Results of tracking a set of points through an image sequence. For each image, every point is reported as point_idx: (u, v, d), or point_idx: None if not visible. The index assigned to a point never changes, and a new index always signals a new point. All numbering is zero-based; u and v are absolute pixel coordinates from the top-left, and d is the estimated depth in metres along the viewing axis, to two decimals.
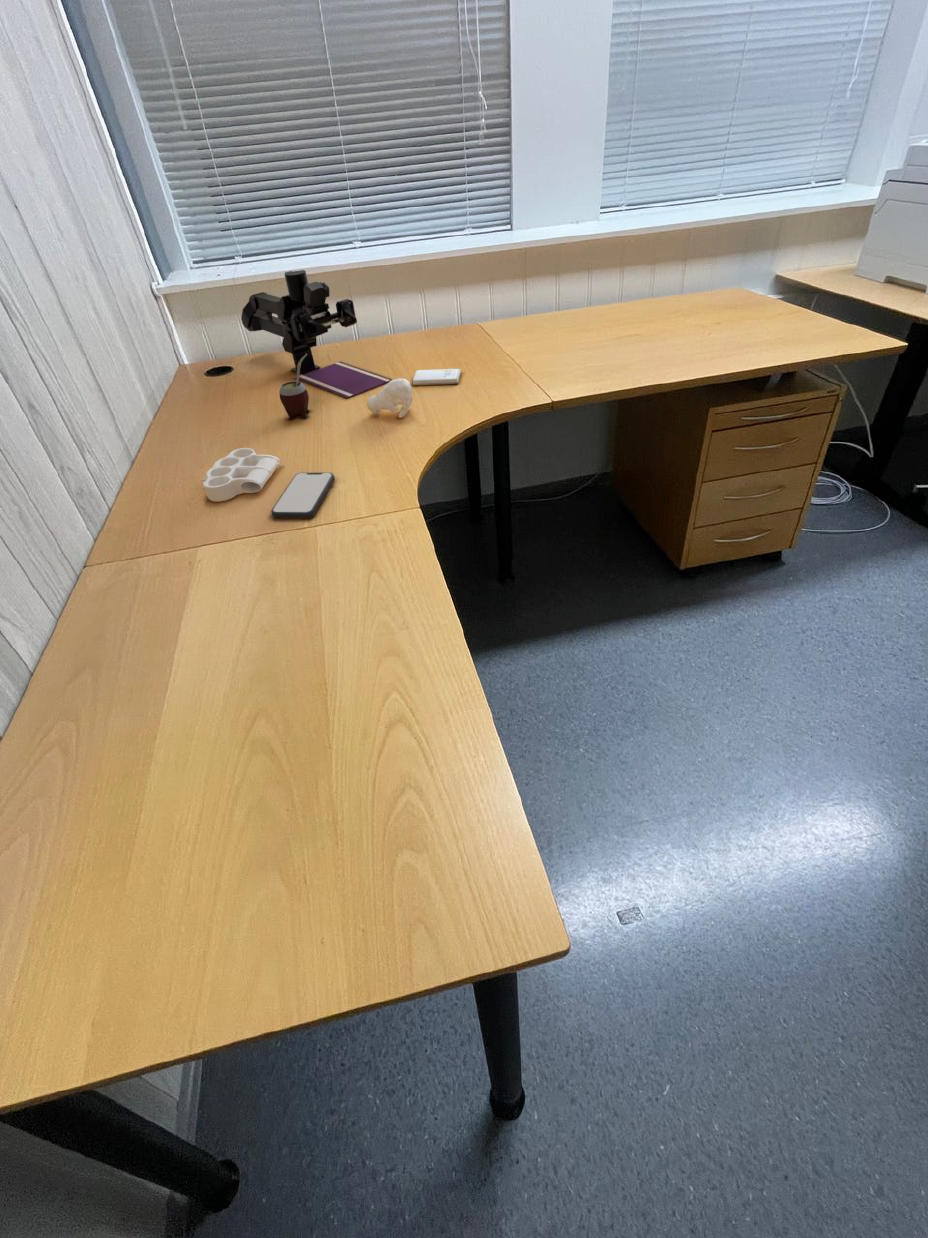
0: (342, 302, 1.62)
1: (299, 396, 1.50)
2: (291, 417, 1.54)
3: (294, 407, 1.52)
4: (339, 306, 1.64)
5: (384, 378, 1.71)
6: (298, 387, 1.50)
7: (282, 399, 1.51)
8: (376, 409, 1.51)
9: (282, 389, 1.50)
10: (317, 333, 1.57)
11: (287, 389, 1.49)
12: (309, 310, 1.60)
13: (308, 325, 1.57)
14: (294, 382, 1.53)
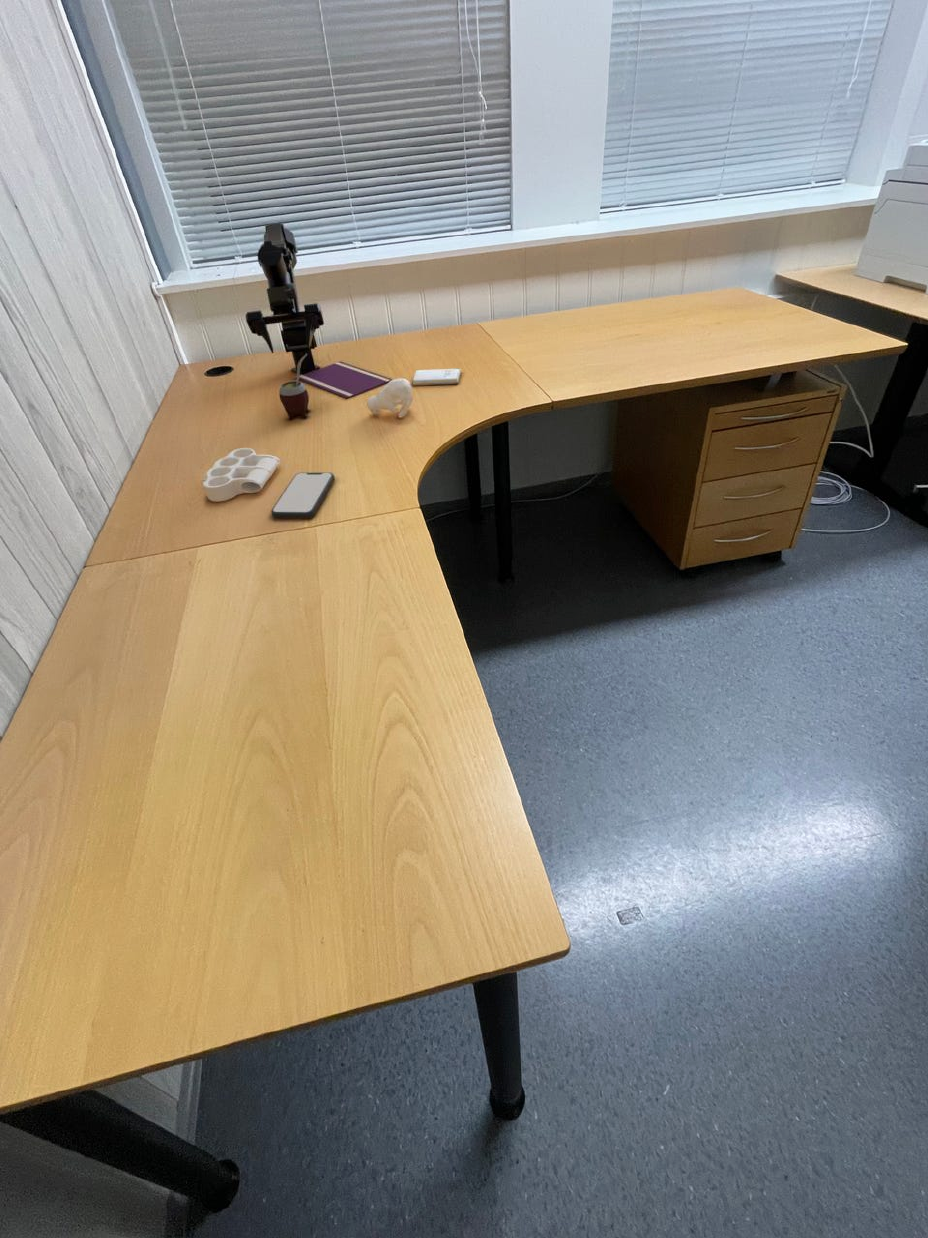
0: (307, 312, 1.51)
1: (299, 396, 1.50)
2: (291, 417, 1.54)
3: (294, 407, 1.52)
4: None
5: (384, 378, 1.71)
6: (298, 387, 1.50)
7: (282, 399, 1.51)
8: (376, 409, 1.51)
9: (282, 389, 1.50)
10: None
11: (287, 389, 1.49)
12: (270, 307, 1.51)
13: None
14: (294, 382, 1.53)
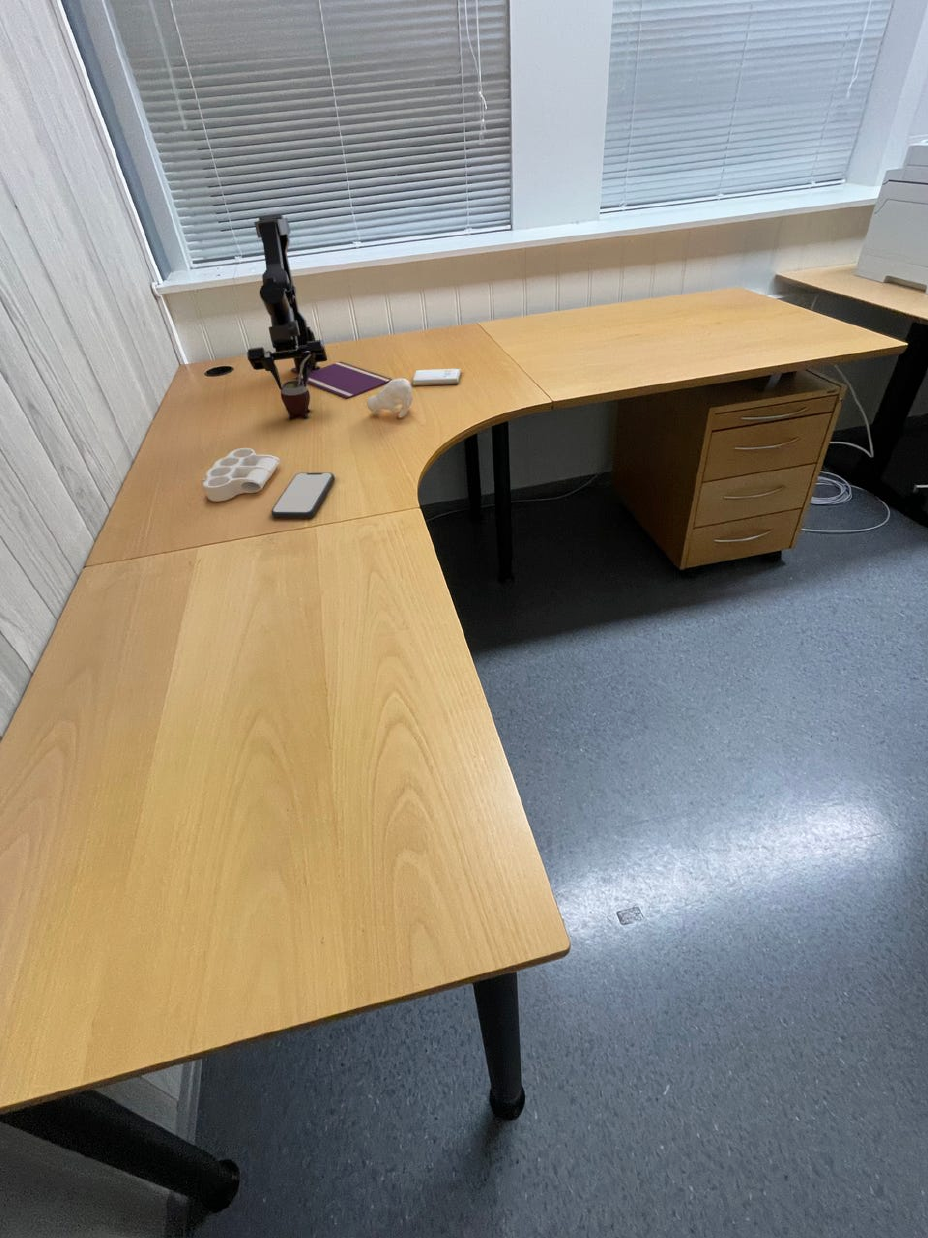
0: (310, 349, 1.48)
1: (301, 396, 1.50)
2: (291, 416, 1.54)
3: (295, 407, 1.52)
4: None
5: (384, 378, 1.71)
6: (300, 387, 1.50)
7: (283, 398, 1.51)
8: (376, 409, 1.51)
9: (284, 388, 1.50)
10: None
11: (289, 389, 1.49)
12: None
13: None
14: (296, 381, 1.53)
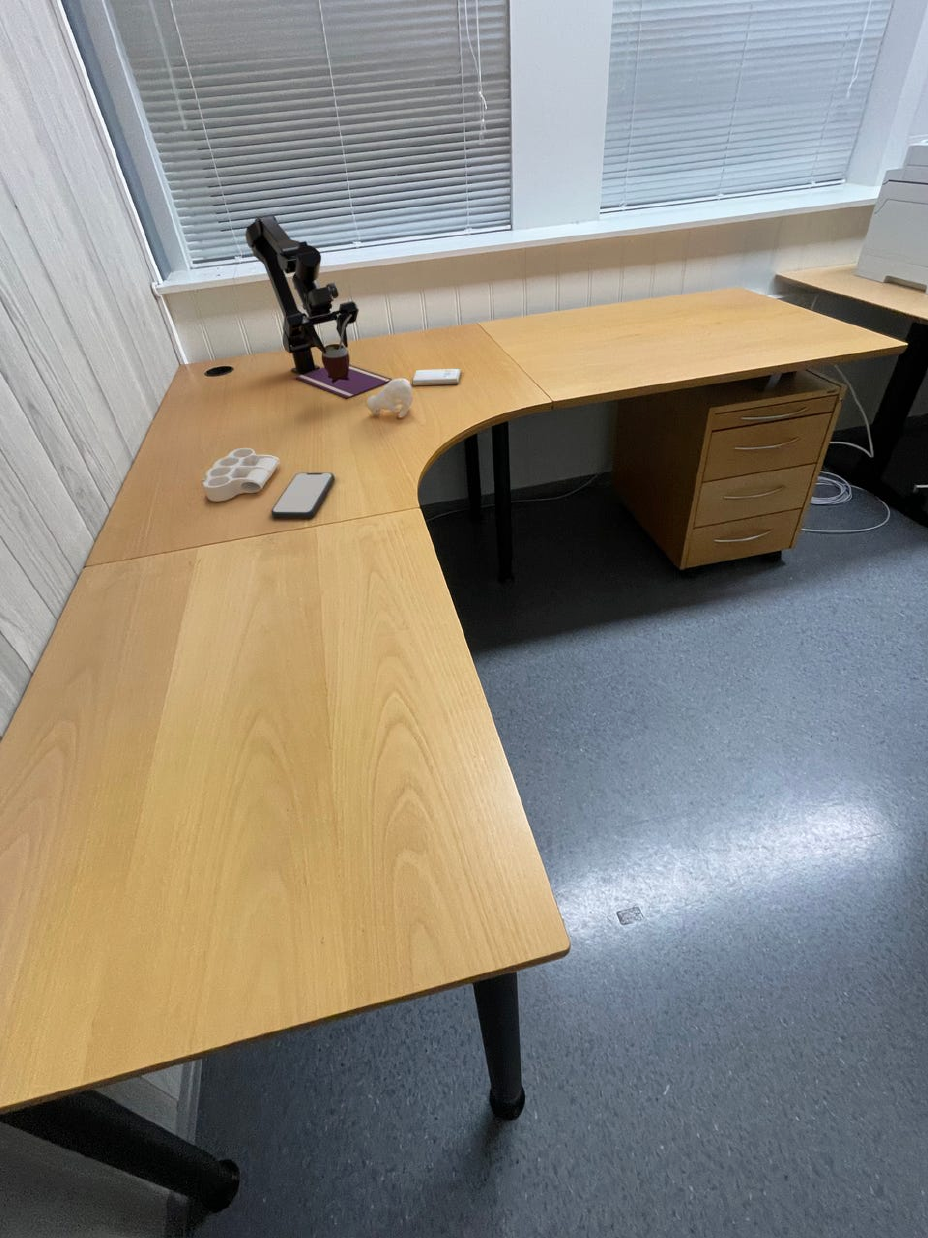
0: (347, 310, 1.52)
1: (346, 357, 1.54)
2: (334, 380, 1.57)
3: (341, 369, 1.55)
4: (343, 308, 1.53)
5: (384, 378, 1.71)
6: (343, 348, 1.54)
7: (328, 361, 1.53)
8: (376, 409, 1.51)
9: (328, 351, 1.52)
10: (314, 344, 1.53)
11: (334, 351, 1.52)
12: (309, 309, 1.50)
13: None
14: (333, 345, 1.56)
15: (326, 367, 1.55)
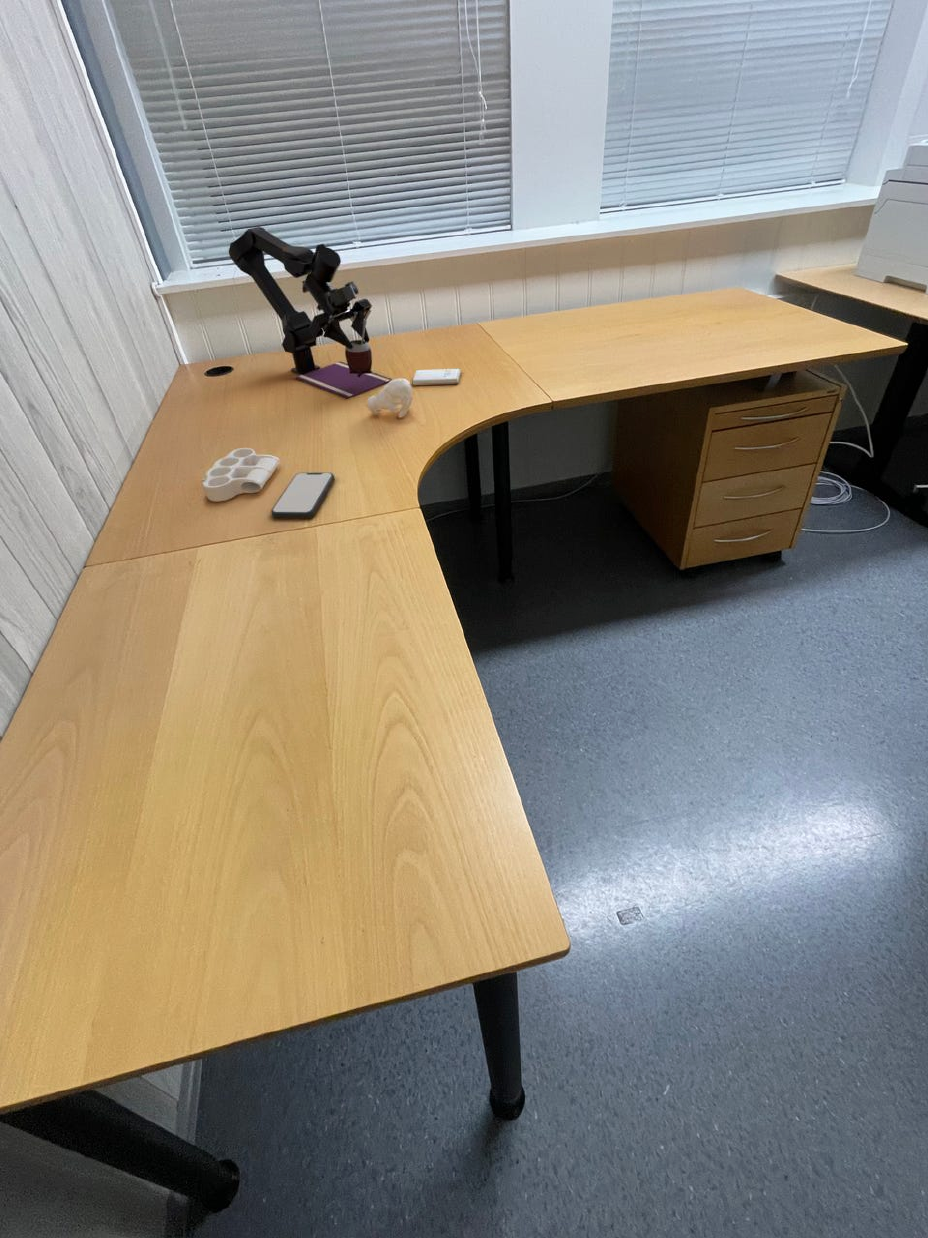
0: (363, 307, 1.61)
1: (370, 351, 1.63)
2: (360, 374, 1.65)
3: (367, 363, 1.63)
4: (358, 305, 1.62)
5: (384, 378, 1.71)
6: (367, 343, 1.62)
7: (356, 356, 1.61)
8: (376, 409, 1.51)
9: (355, 346, 1.60)
10: (339, 341, 1.60)
11: (361, 345, 1.60)
12: (332, 308, 1.56)
13: (333, 328, 1.58)
14: (353, 341, 1.63)
15: (352, 362, 1.62)
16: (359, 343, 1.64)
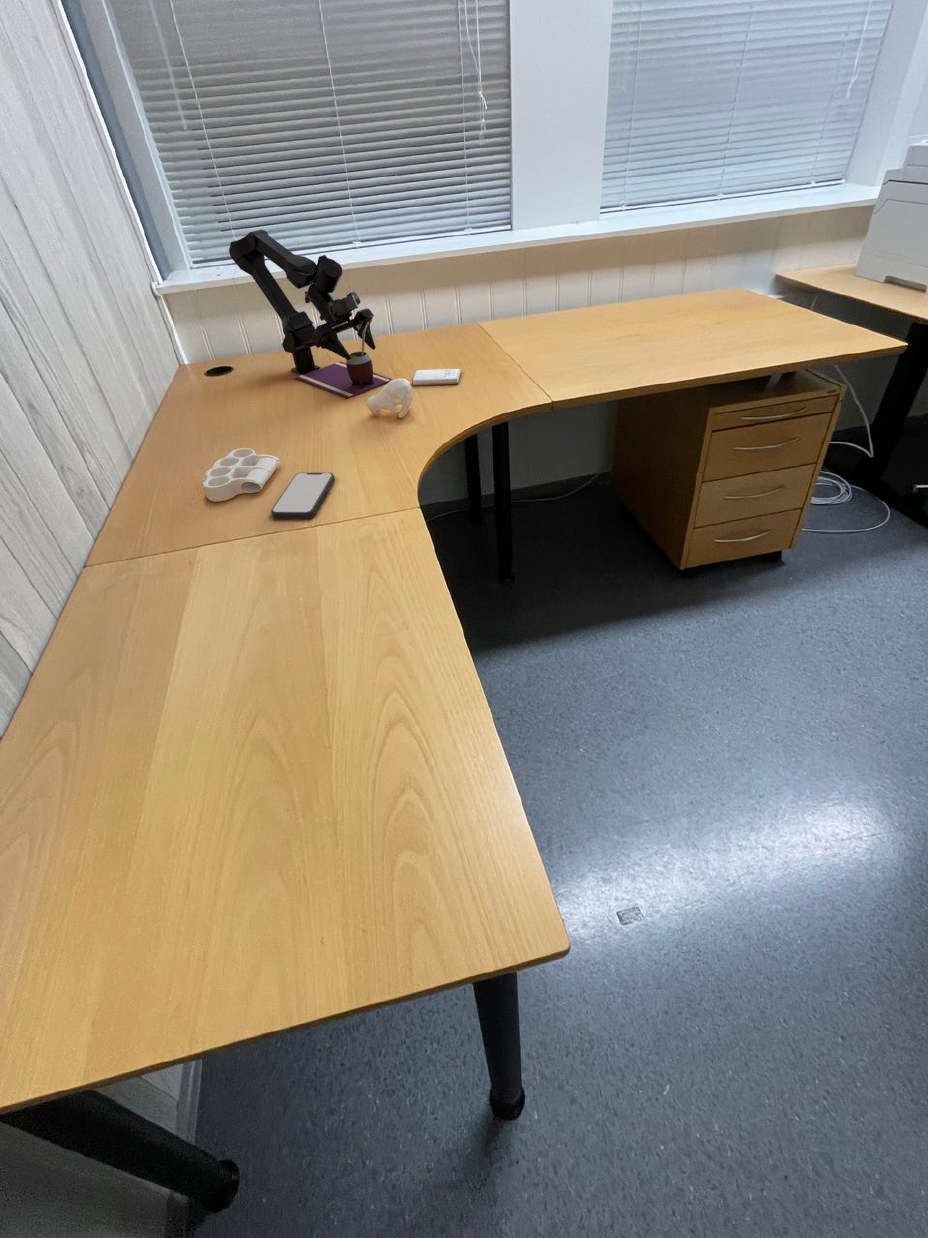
0: (365, 317, 1.63)
1: (370, 362, 1.64)
2: (362, 385, 1.67)
3: (368, 374, 1.65)
4: (360, 315, 1.63)
5: (384, 378, 1.71)
6: (367, 354, 1.64)
7: (357, 368, 1.63)
8: (376, 409, 1.51)
9: (356, 359, 1.62)
10: (337, 352, 1.60)
11: (361, 357, 1.62)
12: (334, 318, 1.58)
13: (331, 339, 1.58)
14: (353, 353, 1.65)
15: (354, 374, 1.64)
16: (359, 355, 1.66)
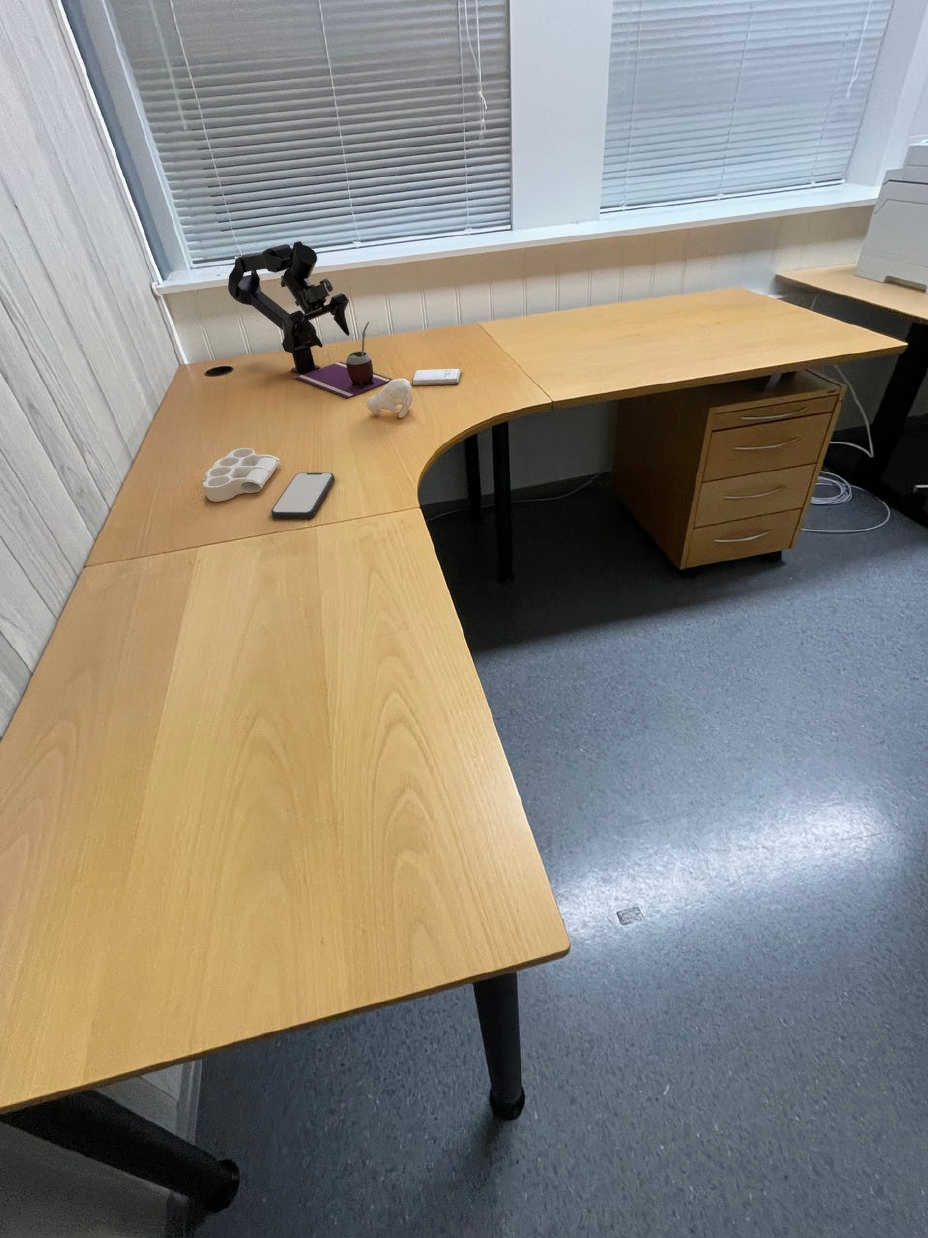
0: (340, 302, 1.65)
1: (370, 362, 1.64)
2: (362, 385, 1.67)
3: (368, 374, 1.65)
4: (335, 300, 1.66)
5: (384, 378, 1.71)
6: (367, 354, 1.64)
7: (357, 368, 1.63)
8: (376, 409, 1.51)
9: (356, 359, 1.62)
10: (310, 339, 1.64)
11: (361, 357, 1.62)
12: (307, 306, 1.61)
13: (303, 327, 1.62)
14: (353, 353, 1.65)
15: (354, 374, 1.64)
16: (359, 355, 1.66)
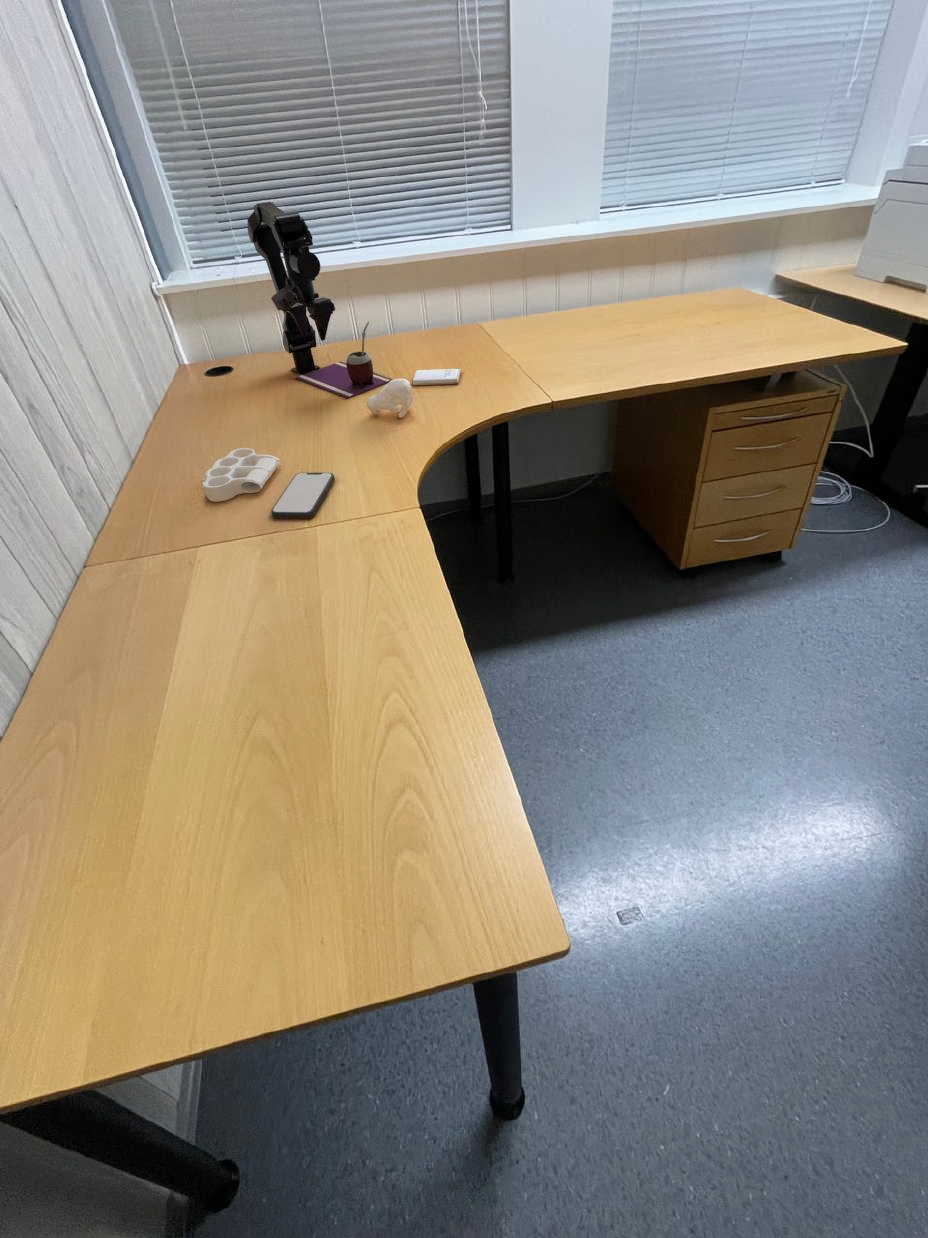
0: (309, 313, 1.53)
1: (370, 362, 1.64)
2: (362, 385, 1.67)
3: (368, 374, 1.65)
4: None
5: (384, 378, 1.71)
6: (367, 354, 1.64)
7: (357, 368, 1.63)
8: (376, 409, 1.51)
9: (356, 359, 1.62)
10: None
11: (361, 357, 1.62)
12: None
13: None
14: (353, 353, 1.65)
15: (354, 374, 1.64)
16: (359, 355, 1.66)
